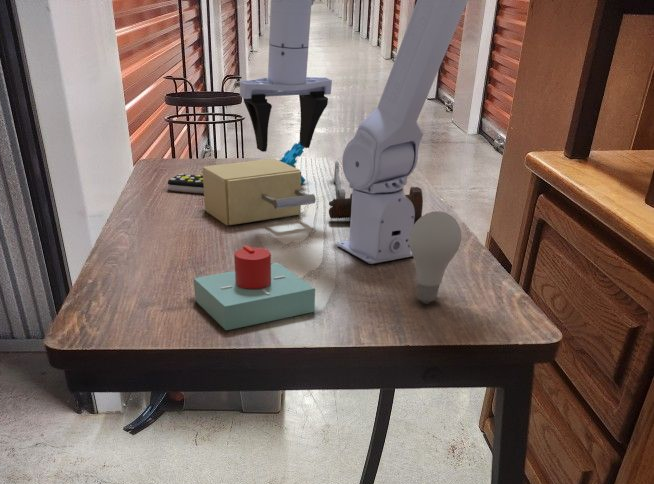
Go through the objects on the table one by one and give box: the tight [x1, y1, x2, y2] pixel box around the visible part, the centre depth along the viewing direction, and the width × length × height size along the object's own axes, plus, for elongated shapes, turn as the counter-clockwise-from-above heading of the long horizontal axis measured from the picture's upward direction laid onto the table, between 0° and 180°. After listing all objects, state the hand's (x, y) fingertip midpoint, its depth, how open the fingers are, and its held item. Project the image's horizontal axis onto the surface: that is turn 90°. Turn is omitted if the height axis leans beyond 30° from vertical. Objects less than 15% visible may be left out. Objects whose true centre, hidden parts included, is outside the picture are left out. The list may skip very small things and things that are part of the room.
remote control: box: [167, 173, 204, 195], centre depth 126 cm, size 6×13×2 cm, turn 72°
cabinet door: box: [227, 170, 317, 226], centre depth 107 cm, size 6×13×7 cm, turn 117°
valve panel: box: [193, 262, 316, 331], centre depth 82 cm, size 10×12×3 cm
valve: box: [233, 244, 272, 289], centre depth 80 cm, size 4×4×4 cm
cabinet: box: [202, 157, 301, 226], centre depth 113 cm, size 10×14×7 cm
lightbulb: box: [409, 210, 462, 304], centre depth 81 cm, size 6×6×11 cm
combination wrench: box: [333, 161, 346, 199], centre depth 124 cm, size 4×1×20 cm
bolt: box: [328, 186, 424, 224], centre depth 109 cm, size 6×5×15 cm
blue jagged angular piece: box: [278, 140, 306, 185], centre depth 128 cm, size 11×6×10 cm
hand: (283, 148), depth 105 cm, fingers open, 7 cm apart
